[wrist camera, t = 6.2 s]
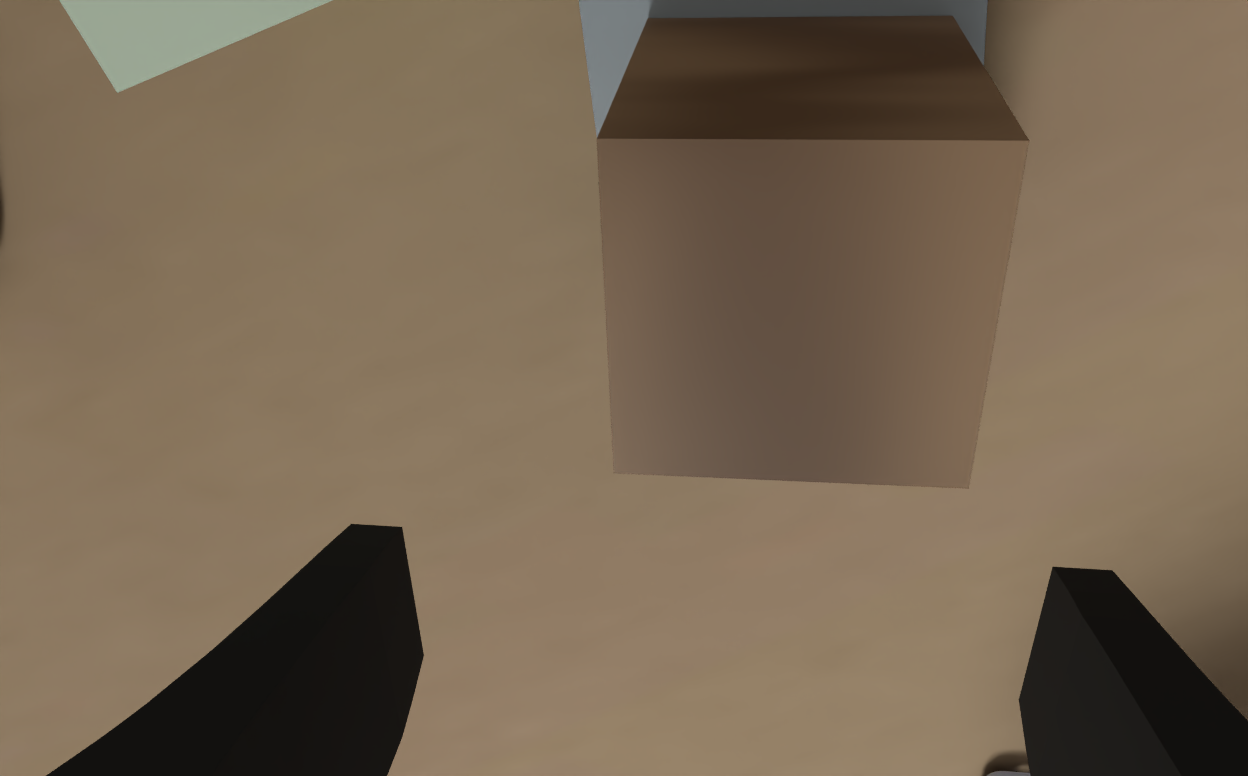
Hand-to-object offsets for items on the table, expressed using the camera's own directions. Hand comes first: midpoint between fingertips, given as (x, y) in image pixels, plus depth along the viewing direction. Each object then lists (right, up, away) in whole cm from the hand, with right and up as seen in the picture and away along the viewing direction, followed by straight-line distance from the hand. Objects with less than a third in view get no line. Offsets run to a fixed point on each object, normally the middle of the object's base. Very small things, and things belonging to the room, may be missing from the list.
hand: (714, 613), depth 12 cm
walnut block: (+2, +6, +5) cm, 8 cm away
